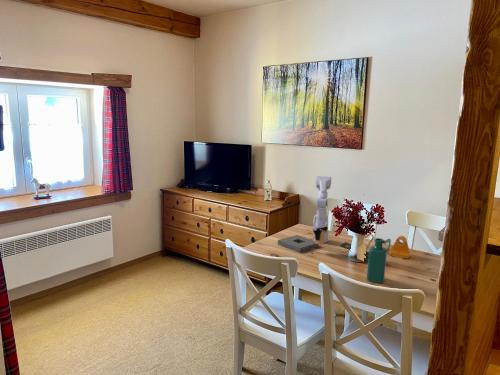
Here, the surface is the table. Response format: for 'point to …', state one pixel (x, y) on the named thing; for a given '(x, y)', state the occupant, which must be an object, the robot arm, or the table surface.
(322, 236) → the tan square post
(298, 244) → the collar
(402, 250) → the orange handbag
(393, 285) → the table surface
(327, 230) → the robot arm
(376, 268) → the pitcher
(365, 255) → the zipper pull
